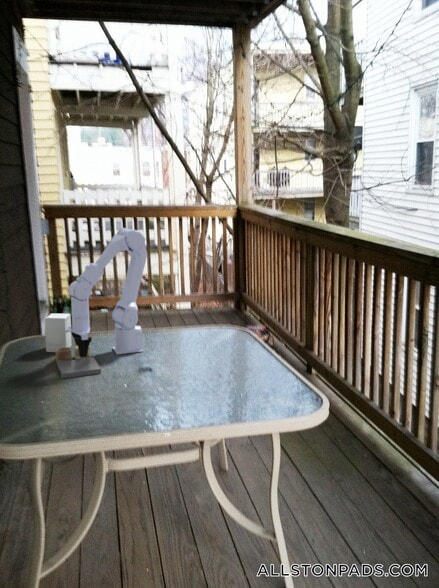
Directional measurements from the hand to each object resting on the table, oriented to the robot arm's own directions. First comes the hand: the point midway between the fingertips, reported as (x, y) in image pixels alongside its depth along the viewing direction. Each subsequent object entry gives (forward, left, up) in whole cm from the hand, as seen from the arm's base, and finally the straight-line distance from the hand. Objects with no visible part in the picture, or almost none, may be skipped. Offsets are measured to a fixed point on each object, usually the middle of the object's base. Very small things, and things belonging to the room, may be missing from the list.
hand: (82, 354), depth 183 cm
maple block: (0, 0, -2) cm, 2 cm away
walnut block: (+6, +2, -2) cm, 7 cm away
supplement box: (+6, -13, -2) cm, 14 cm away
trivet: (+3, +11, -1) cm, 11 cm away
